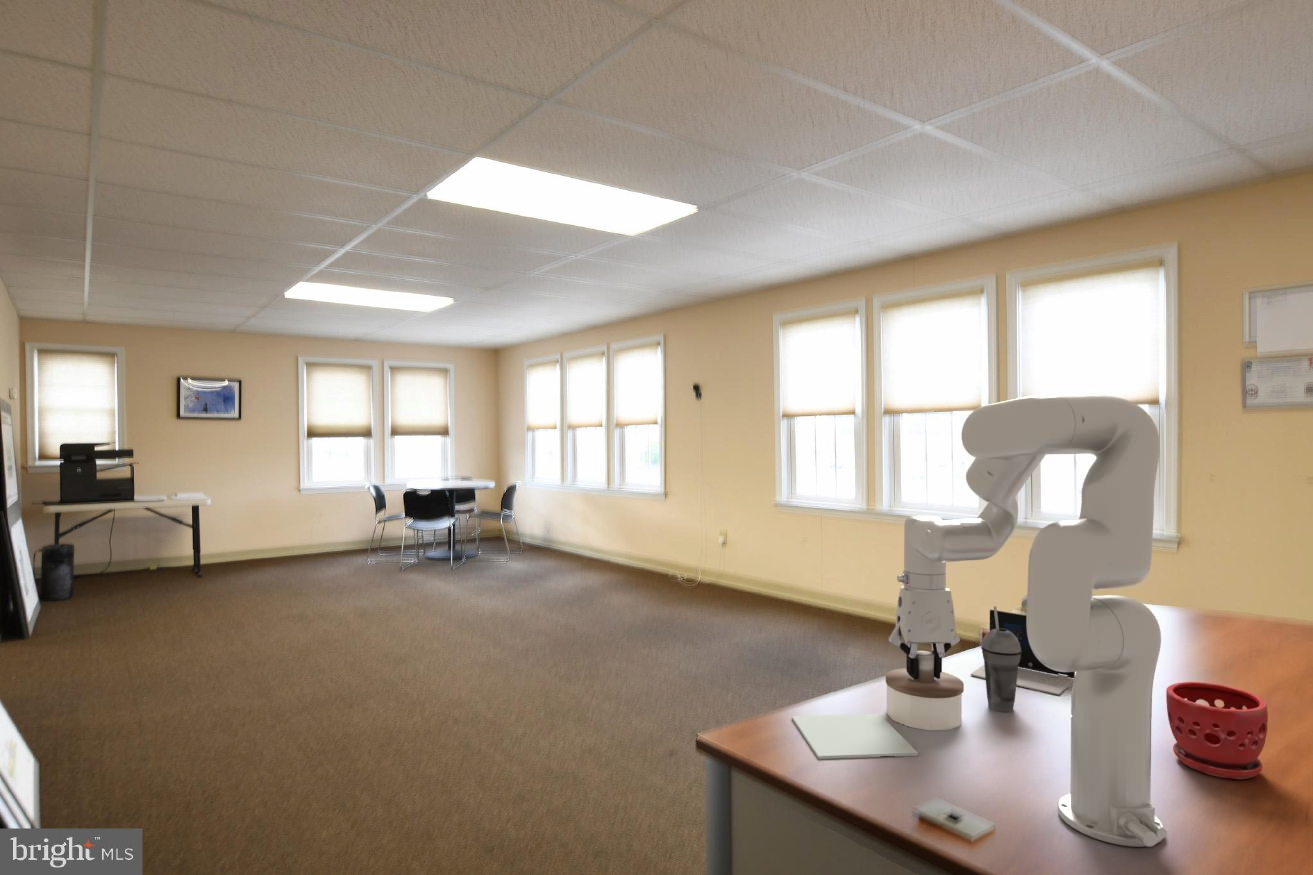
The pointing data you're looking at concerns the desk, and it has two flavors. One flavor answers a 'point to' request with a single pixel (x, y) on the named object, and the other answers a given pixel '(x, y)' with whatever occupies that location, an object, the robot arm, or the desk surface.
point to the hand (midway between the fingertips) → (924, 675)
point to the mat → (852, 736)
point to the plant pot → (1217, 729)
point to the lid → (925, 680)
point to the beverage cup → (1001, 667)
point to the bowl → (924, 710)
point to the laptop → (1028, 658)
